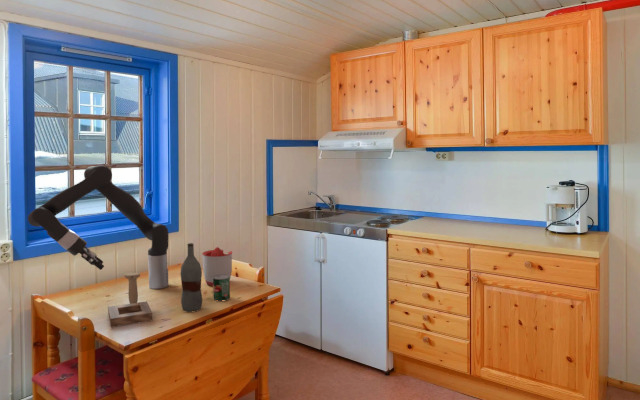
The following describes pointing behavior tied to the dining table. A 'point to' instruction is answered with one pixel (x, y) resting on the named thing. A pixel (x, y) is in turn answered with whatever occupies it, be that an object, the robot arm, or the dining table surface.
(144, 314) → the holder
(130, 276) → the handle
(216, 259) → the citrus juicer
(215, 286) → the canned tomato
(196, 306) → the bottle
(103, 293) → the dining table surface
